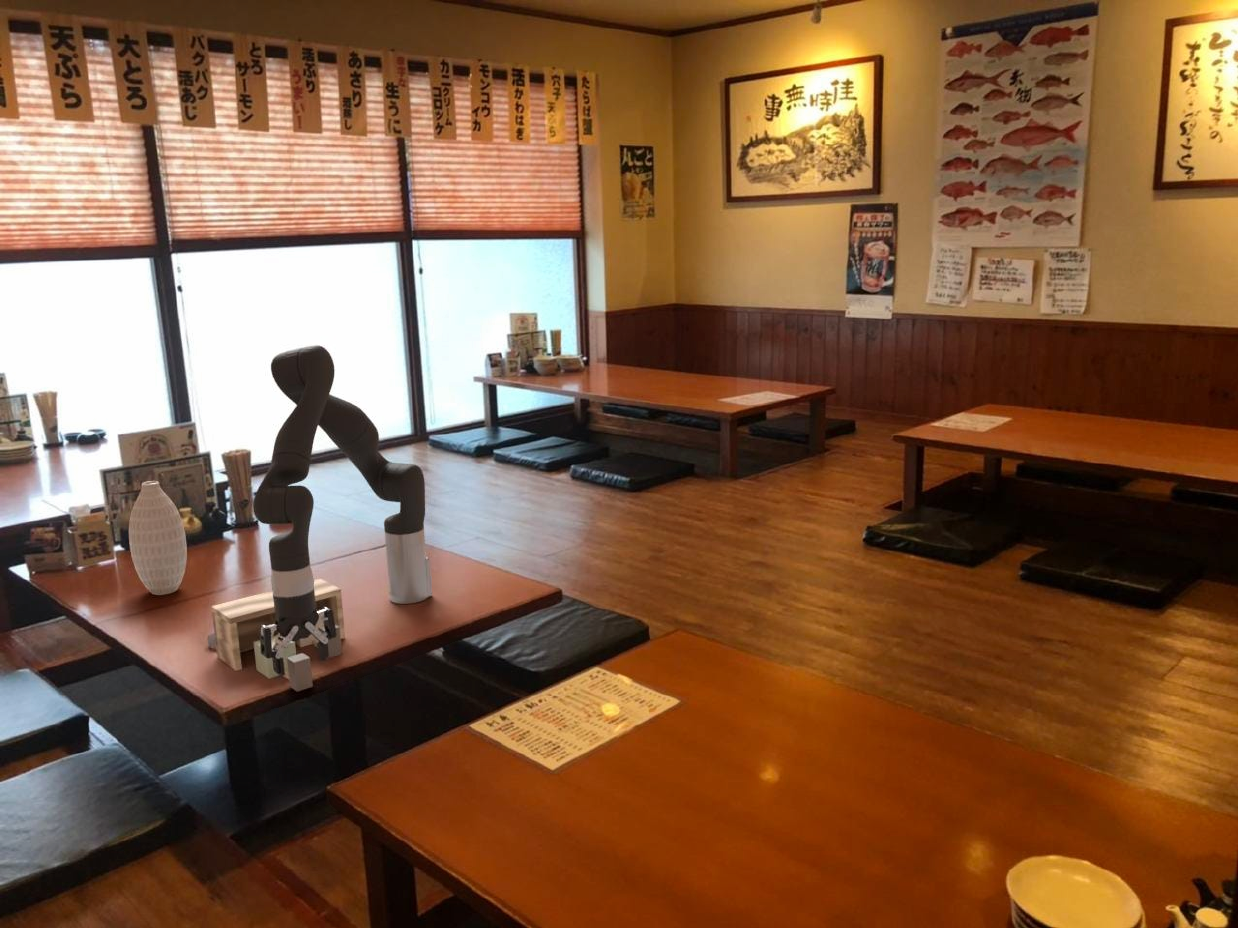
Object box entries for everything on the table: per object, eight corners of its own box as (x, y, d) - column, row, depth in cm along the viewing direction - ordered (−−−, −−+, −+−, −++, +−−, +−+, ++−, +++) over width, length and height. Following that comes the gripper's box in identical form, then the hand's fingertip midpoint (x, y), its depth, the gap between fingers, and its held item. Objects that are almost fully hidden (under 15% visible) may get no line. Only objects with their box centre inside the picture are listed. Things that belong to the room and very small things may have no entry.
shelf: (217, 656, 207) (211, 606, 204) (324, 625, 222) (319, 578, 220) (235, 670, 199) (229, 618, 197) (345, 637, 215) (340, 588, 213)
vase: (193, 580, 256) (180, 474, 250) (189, 595, 245) (175, 485, 238) (140, 586, 253) (125, 479, 246) (133, 602, 241) (117, 490, 235)
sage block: (256, 669, 200) (253, 641, 198) (285, 661, 204) (282, 633, 202) (290, 693, 188) (286, 664, 187) (319, 684, 192) (316, 655, 191)
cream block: (288, 639, 215) (286, 613, 214) (314, 632, 219) (312, 606, 217) (321, 660, 203) (318, 633, 202) (348, 651, 207) (345, 625, 206)
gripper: (319, 574, 194) (327, 651, 198) (248, 593, 185) (258, 673, 188) (337, 583, 189) (345, 662, 192) (264, 603, 179) (274, 685, 183)
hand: (302, 667), depth 190 cm, fingers open, 8 cm apart
